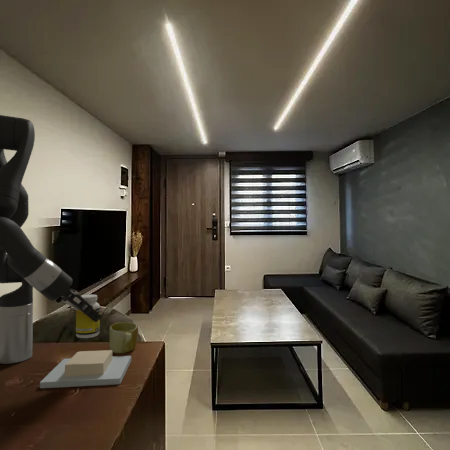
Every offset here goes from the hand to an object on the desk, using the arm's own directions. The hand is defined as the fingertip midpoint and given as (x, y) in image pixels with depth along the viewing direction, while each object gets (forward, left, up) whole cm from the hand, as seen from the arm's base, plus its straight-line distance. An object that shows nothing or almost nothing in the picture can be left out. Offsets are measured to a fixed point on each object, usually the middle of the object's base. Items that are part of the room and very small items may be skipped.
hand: (94, 316), depth 93 cm
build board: (-1, 0, -16) cm, 16 cm away
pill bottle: (-1, -1, -5) cm, 5 cm away
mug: (+5, +17, -16) cm, 24 cm away
